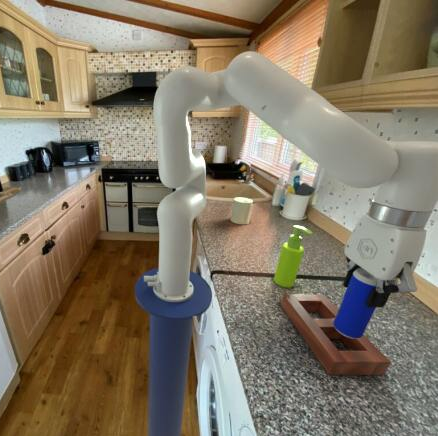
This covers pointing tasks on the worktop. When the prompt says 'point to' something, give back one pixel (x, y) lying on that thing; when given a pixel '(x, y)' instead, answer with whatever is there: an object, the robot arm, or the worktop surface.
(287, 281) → the soap dispenser
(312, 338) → the holder
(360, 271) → the beverage can
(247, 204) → the can
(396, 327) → the worktop surface
